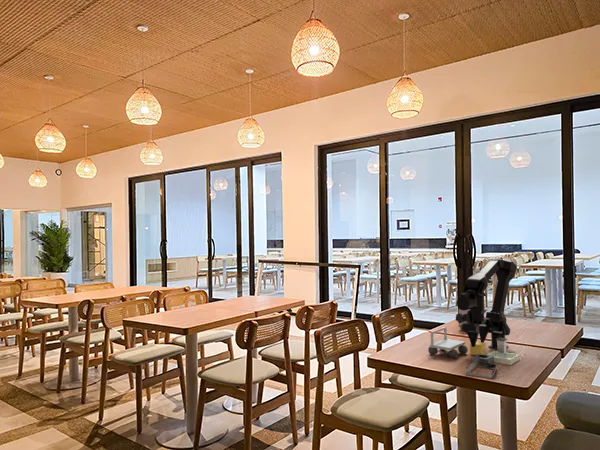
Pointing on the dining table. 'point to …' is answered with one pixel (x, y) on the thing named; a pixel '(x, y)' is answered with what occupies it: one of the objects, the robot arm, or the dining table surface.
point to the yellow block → (478, 348)
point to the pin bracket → (483, 358)
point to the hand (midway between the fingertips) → (477, 344)
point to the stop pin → (501, 347)
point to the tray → (509, 361)
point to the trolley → (447, 345)
